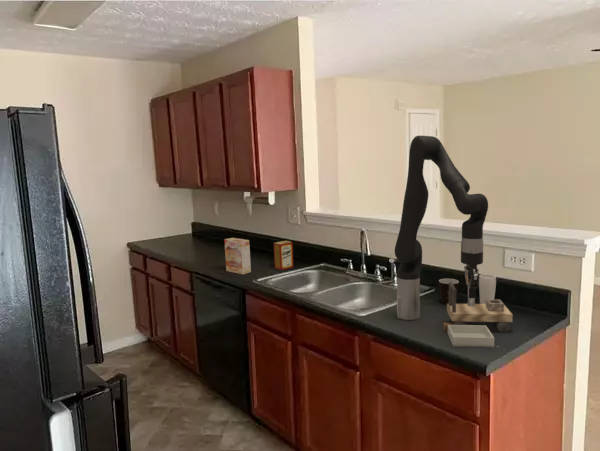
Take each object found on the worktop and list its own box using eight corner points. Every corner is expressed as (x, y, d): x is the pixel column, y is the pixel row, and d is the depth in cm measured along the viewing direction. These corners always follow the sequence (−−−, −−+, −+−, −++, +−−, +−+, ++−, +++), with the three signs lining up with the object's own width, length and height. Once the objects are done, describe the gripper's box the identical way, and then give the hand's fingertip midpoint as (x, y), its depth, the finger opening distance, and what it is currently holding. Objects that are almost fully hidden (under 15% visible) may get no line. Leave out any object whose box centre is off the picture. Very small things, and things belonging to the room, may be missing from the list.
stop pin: (467, 307, 173) (467, 279, 171) (465, 303, 176) (465, 276, 175) (477, 307, 172) (478, 279, 171) (475, 303, 176) (475, 276, 174)
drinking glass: (478, 306, 212) (479, 273, 210) (495, 307, 210) (496, 274, 207) (477, 311, 206) (478, 277, 204) (494, 312, 203) (496, 278, 201)
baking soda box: (280, 270, 287) (279, 243, 285) (274, 268, 293) (273, 242, 290) (293, 267, 293) (292, 241, 290) (287, 265, 298) (286, 240, 296)
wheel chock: (444, 332, 185) (444, 325, 184) (443, 329, 187) (443, 322, 187) (454, 332, 184) (454, 325, 184) (452, 329, 187) (452, 322, 186)
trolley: (451, 331, 185) (452, 289, 182) (446, 320, 197) (447, 281, 194) (511, 332, 182) (513, 290, 179) (503, 321, 194) (504, 281, 191)
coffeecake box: (225, 271, 290) (223, 239, 286) (234, 268, 295) (232, 237, 292) (242, 274, 280) (240, 241, 277) (251, 272, 285) (249, 239, 282)
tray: (453, 346, 171) (453, 337, 171) (447, 333, 183) (447, 324, 183) (494, 347, 170) (494, 337, 169) (485, 334, 181) (485, 325, 181)
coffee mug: (438, 304, 216) (438, 283, 214) (438, 299, 224) (438, 278, 222) (465, 306, 213) (466, 284, 211) (464, 300, 221) (465, 279, 219)
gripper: (457, 246, 178) (456, 291, 181) (465, 254, 165) (464, 302, 167) (478, 245, 177) (477, 291, 180) (487, 254, 164) (486, 302, 166)
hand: (471, 296), depth 174 cm, fingers closed on stop pin, 2 cm apart
